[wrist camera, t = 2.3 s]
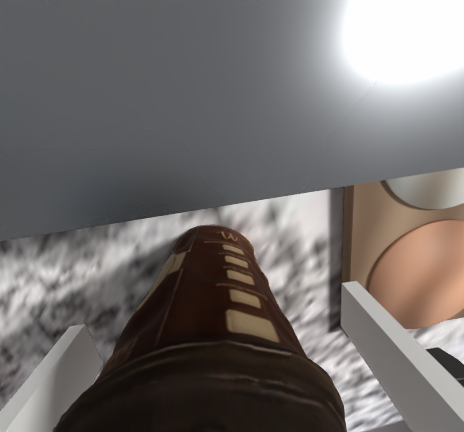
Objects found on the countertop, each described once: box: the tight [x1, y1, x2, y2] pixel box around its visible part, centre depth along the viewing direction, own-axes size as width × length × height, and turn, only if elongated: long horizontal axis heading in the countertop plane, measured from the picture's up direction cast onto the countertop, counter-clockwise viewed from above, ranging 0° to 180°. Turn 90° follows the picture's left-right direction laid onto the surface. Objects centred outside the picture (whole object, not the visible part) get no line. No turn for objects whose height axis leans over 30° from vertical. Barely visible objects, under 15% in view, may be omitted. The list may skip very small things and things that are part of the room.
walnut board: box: [340, 168, 464, 338], centre depth 16 cm, size 13×21×2 cm, turn 8°
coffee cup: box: [52, 225, 347, 432], centre depth 11 cm, size 9×8×13 cm
